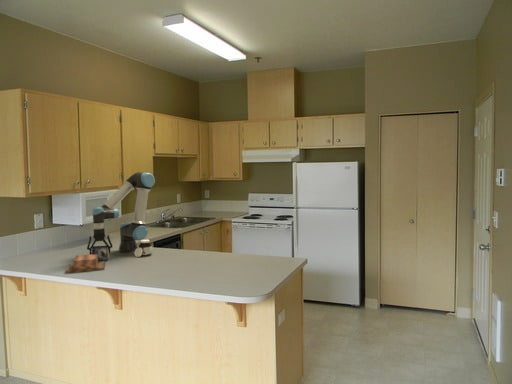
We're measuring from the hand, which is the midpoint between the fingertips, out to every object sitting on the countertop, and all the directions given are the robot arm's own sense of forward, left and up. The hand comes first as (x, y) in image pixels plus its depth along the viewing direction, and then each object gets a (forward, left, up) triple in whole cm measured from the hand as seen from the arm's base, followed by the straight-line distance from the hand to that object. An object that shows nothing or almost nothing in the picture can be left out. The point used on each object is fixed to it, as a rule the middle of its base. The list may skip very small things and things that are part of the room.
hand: (100, 257), depth 310 cm
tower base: (+8, +20, -2) cm, 22 cm away
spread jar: (-31, -4, -2) cm, 31 cm away
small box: (0, 0, -2) cm, 2 cm away
